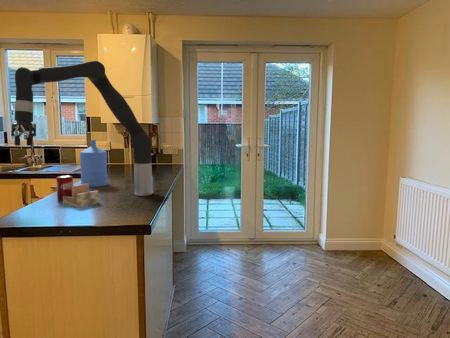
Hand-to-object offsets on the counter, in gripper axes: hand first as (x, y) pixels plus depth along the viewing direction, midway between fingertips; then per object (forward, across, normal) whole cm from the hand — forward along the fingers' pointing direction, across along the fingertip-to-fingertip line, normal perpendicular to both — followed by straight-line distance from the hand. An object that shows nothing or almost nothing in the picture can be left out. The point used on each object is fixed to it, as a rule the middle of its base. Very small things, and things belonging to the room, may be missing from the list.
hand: (23, 145), depth 155 cm
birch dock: (+27, -25, -12) cm, 38 cm away
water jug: (+21, +6, -51) cm, 55 cm away
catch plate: (+27, -25, -12) cm, 38 cm away
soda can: (+26, -14, -13) cm, 33 cm away
